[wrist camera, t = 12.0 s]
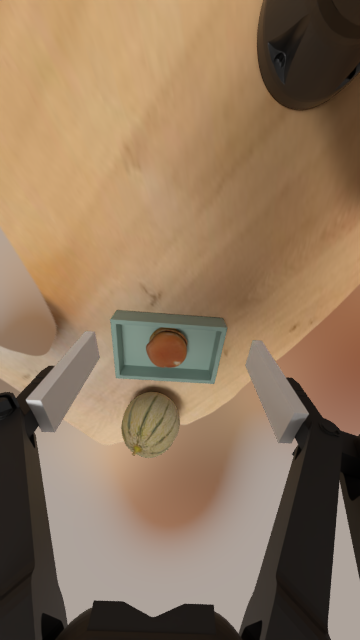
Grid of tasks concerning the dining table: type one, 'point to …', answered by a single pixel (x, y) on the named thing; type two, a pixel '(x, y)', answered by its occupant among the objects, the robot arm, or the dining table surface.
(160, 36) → the dining table surface
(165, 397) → the cantaloupe
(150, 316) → the teal tray
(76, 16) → the dining table surface
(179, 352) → the burger
